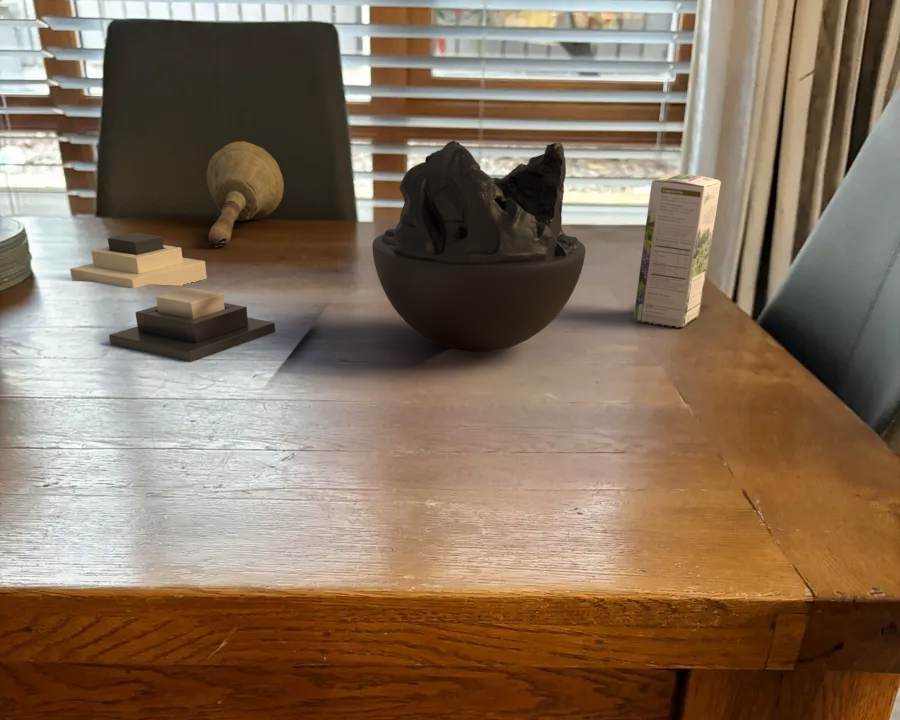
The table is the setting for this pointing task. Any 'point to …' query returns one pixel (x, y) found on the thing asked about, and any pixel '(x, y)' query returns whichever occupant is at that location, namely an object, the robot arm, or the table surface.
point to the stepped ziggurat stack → (140, 268)
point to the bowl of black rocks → (480, 250)
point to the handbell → (242, 186)
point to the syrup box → (676, 249)
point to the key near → (190, 303)
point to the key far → (135, 243)
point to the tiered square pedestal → (191, 333)
